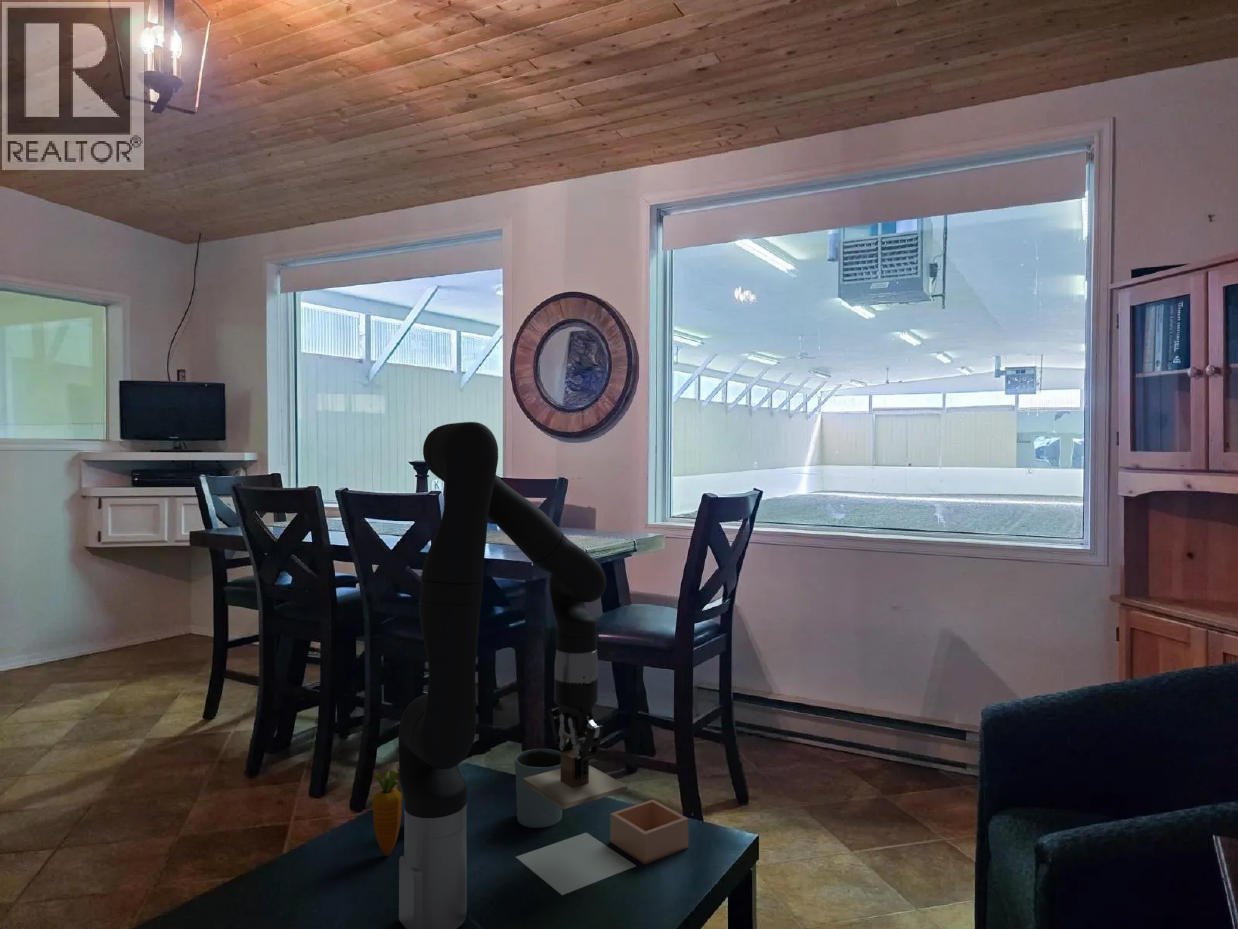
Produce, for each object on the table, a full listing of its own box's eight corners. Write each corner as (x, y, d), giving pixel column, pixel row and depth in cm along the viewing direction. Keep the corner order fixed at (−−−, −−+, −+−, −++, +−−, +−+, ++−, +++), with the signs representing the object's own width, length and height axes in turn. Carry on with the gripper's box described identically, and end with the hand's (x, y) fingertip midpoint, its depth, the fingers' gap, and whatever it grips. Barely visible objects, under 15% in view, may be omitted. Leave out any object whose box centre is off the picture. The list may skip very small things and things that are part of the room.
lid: (563, 809, 123) (563, 773, 123) (522, 783, 134) (523, 749, 134) (627, 790, 131) (627, 756, 131) (584, 767, 141) (584, 735, 141)
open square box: (644, 866, 131) (645, 834, 131) (610, 844, 139) (610, 813, 139) (688, 849, 137) (688, 818, 137) (652, 828, 145) (652, 799, 145)
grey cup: (508, 813, 152) (508, 752, 152) (556, 804, 156) (556, 745, 156) (524, 836, 142) (524, 771, 142) (574, 825, 147) (574, 762, 147)
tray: (562, 897, 122) (562, 895, 122) (515, 859, 134) (515, 857, 134) (636, 868, 131) (636, 866, 131) (586, 834, 143) (586, 832, 143)
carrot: (366, 858, 134) (366, 772, 134) (387, 846, 138) (387, 763, 138) (387, 865, 131) (387, 778, 132) (407, 853, 136) (408, 768, 136)
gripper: (536, 669, 136) (534, 767, 136) (581, 688, 125) (579, 794, 124) (571, 664, 140) (570, 758, 140) (618, 681, 129) (616, 784, 129)
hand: (574, 775), depth 132 cm, fingers closed on lid, 3 cm apart
